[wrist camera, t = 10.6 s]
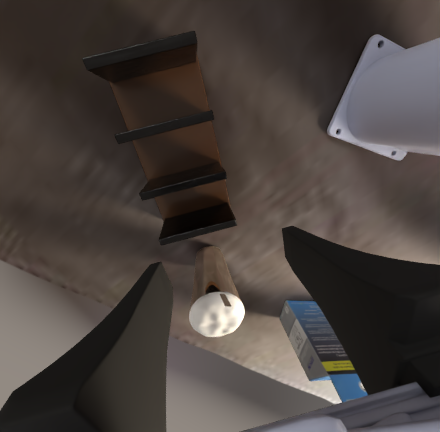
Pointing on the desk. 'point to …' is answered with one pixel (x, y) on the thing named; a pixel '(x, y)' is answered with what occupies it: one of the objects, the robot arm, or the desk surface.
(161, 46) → the letter rack
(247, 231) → the desk surface
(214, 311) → the milkshake
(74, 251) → the desk surface
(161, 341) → the robot arm
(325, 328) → the label tape box
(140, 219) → the desk surface
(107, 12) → the desk surface
